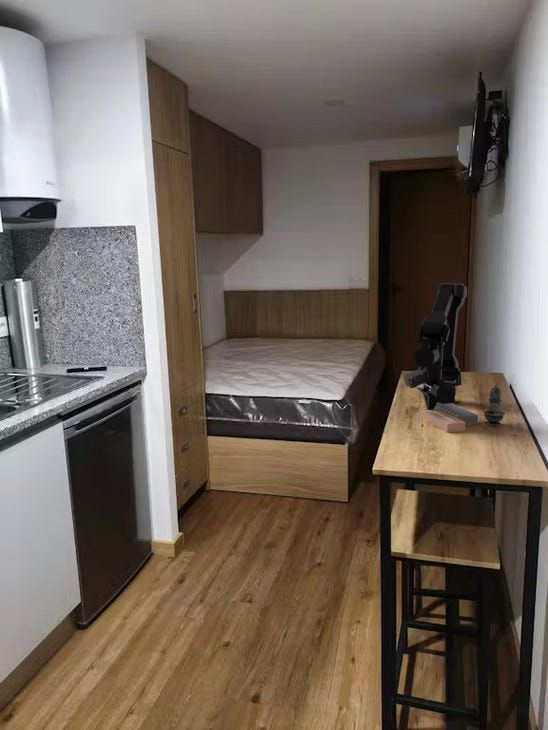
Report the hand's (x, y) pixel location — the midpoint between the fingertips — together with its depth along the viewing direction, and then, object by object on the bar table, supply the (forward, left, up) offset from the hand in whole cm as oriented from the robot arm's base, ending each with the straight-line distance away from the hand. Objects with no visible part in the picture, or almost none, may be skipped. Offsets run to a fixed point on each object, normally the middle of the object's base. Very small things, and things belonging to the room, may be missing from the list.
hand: (429, 412), depth 171 cm
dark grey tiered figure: (+11, +14, -2) cm, 18 cm away
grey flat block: (+3, +7, -2) cm, 7 cm away
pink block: (+8, 0, -2) cm, 8 cm away
